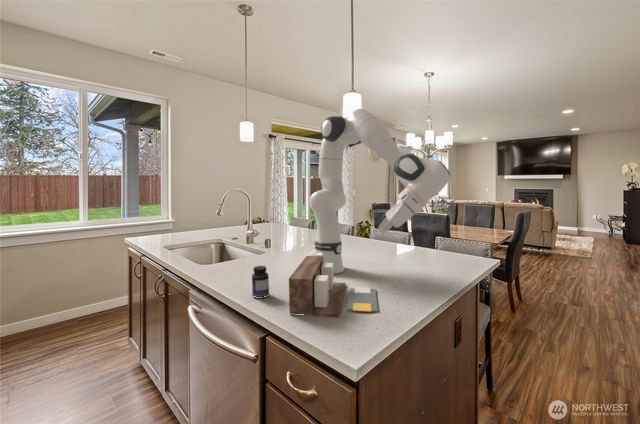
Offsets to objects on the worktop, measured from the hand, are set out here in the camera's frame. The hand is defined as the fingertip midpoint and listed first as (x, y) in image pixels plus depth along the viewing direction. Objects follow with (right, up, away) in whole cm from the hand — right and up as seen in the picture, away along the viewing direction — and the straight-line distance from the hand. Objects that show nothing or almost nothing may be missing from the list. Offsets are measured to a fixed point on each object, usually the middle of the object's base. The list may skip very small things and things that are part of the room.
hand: (380, 230), depth 105 cm
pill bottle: (-43, -26, +9) cm, 51 cm away
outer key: (-20, -25, -2) cm, 32 cm away
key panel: (-21, -25, +6) cm, 34 cm away
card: (-6, -25, +4) cm, 26 cm away
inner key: (-18, -23, +14) cm, 32 cm away
